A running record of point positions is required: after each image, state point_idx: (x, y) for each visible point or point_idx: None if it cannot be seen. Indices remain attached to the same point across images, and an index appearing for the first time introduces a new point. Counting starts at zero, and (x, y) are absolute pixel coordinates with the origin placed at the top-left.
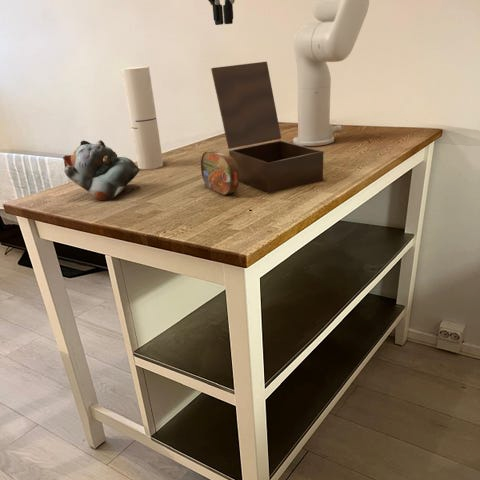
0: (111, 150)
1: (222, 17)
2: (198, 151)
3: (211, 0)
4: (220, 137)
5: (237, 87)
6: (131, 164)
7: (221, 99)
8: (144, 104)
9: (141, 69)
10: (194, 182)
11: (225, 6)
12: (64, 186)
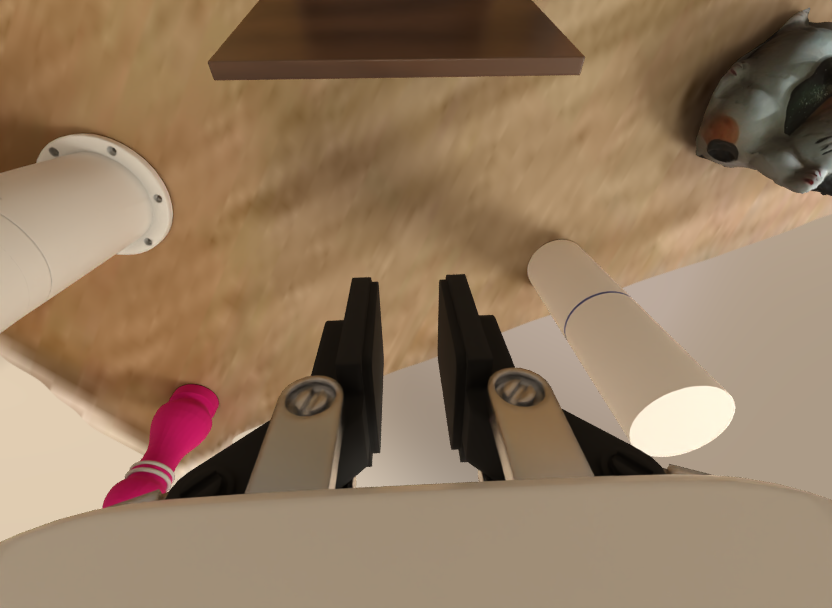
0: (785, 150)
1: (453, 295)
2: (410, 315)
3: (579, 426)
4: None
5: (438, 22)
6: (743, 94)
7: (528, 10)
8: (635, 314)
9: (689, 383)
10: (576, 26)
11: (376, 414)
12: (763, 235)
